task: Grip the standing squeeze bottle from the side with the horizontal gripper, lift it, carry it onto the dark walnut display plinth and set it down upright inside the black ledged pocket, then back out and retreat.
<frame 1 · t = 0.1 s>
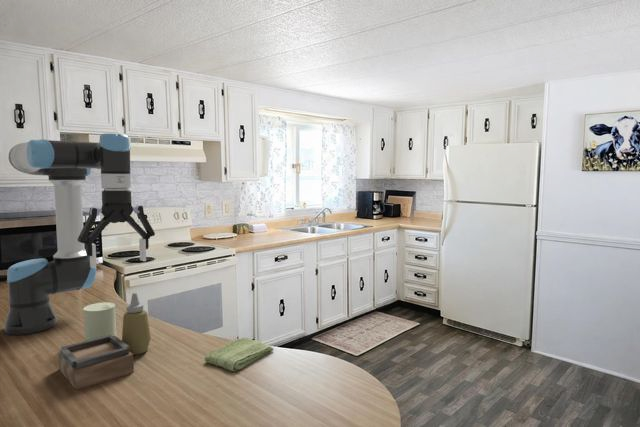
hand: (119, 264, 121), 28 cm above the countertop, tool pointing down, fingers open, 13 cm apart
washcloth: (239, 358, 125), on the countertop
can: (101, 342, 136), on the countertop
display plinth: (96, 370, 116), on the countertop
squeeze bottle: (137, 352, 129), on the countertop
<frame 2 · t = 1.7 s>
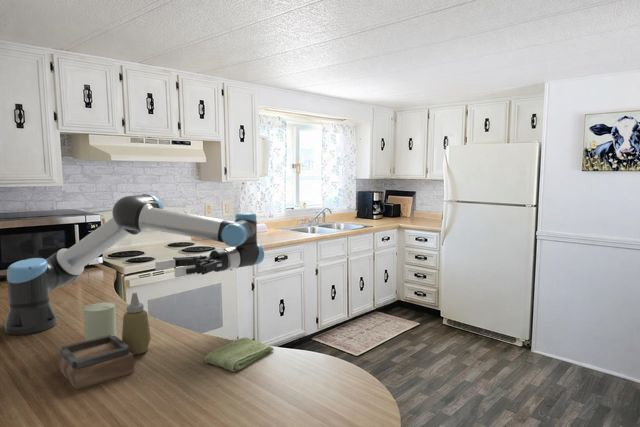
hand: (165, 269, 133), 24 cm above the countertop, tool horizontal, fingers open, 13 cm apart
nothing on the countertop moved.
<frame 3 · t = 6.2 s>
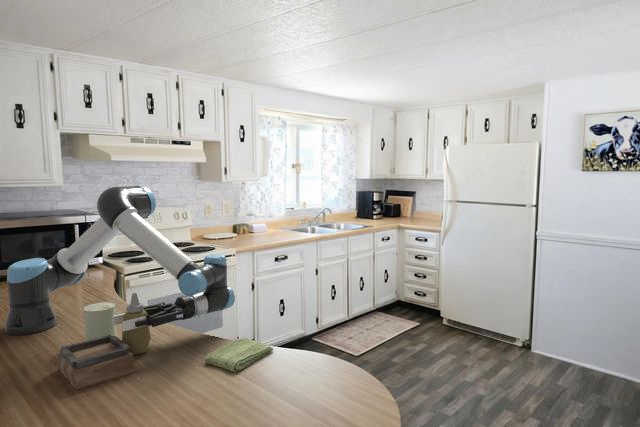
hand: (118, 323, 124), 10 cm above the countertop, tool horizontal, fingers closed on squeeze bottle, 6 cm apart
squeeze bottle: (137, 352, 129), on the countertop, touching gripper
everything else where it was.
when the fingers open (16 cm above the countertop, at t = 10.6 s): squeeze bottle drops 1 cm, resting on display plinth.
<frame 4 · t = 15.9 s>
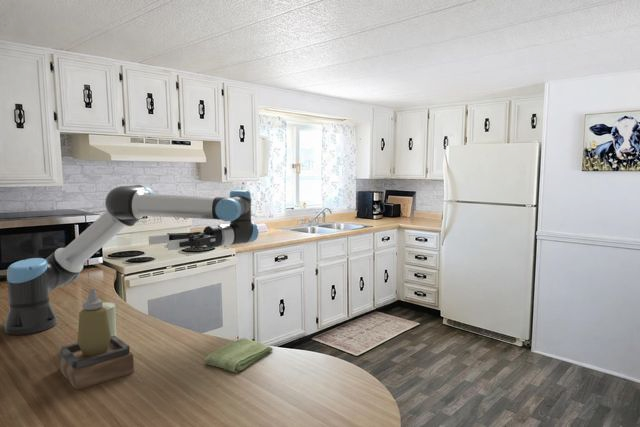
hand: (158, 243, 133), 32 cm above the countertop, tool horizontal, fingers open, 13 cm apart
squeeze bottle: (95, 353, 116), point 5 cm above the countertop, touching display plinth
everything else where it was.
at the end: squeeze bottle 0.1 cm off-centre on the display plinth, point 4.8 cm above the display plinth's base; squeeze bottle tilted 0°; the gripper is holding nothing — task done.
